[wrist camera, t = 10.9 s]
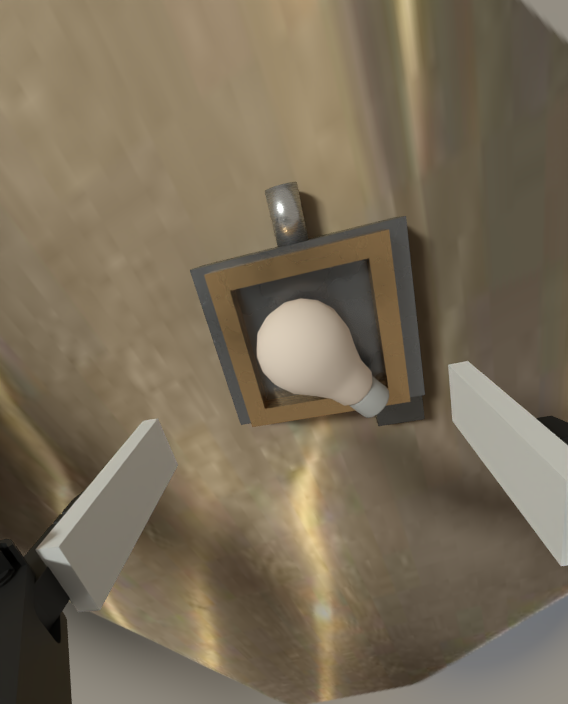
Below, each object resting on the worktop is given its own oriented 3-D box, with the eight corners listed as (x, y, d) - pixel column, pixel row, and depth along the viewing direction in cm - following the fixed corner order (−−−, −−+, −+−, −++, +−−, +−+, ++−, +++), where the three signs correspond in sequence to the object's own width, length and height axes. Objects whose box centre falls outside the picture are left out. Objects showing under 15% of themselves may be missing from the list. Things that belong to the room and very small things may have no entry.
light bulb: (431, 410, 20) (295, 300, 17) (354, 463, 23) (226, 376, 20) (406, 356, 26) (300, 266, 23) (346, 404, 29) (246, 329, 26)
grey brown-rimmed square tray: (255, 432, 33) (246, 462, 29) (186, 216, 26) (162, 214, 22) (418, 407, 31) (434, 436, 27) (389, 159, 24) (404, 145, 20)
